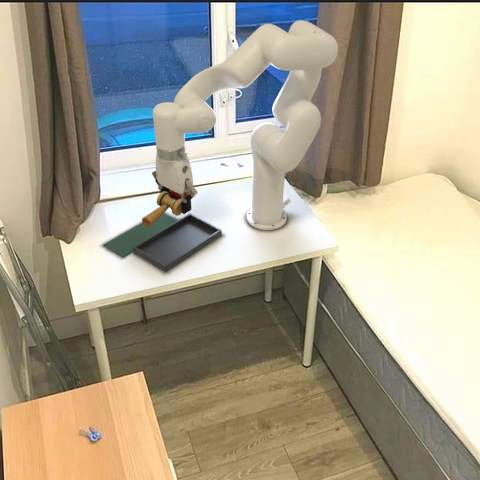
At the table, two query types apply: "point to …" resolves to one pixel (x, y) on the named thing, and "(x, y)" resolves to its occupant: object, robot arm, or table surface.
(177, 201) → the kendama
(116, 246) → the mat
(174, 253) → the dark grey flat tray
